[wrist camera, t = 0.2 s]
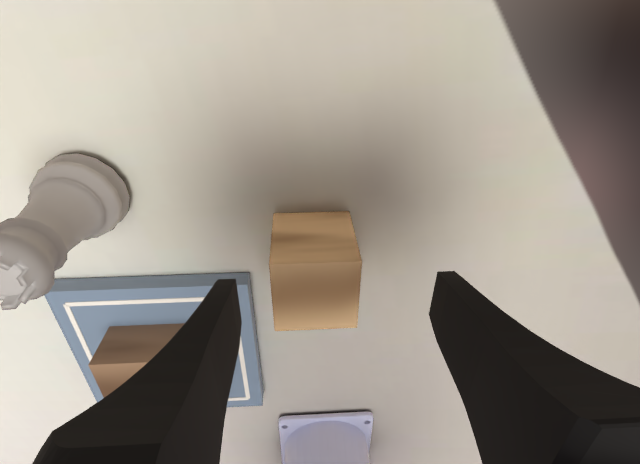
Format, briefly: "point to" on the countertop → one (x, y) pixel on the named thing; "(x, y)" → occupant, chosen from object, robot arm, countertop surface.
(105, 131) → the countertop surface
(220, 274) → the board
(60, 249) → the rook chess piece
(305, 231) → the oak block
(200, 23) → the countertop surface
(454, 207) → the countertop surface
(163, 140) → the countertop surface
